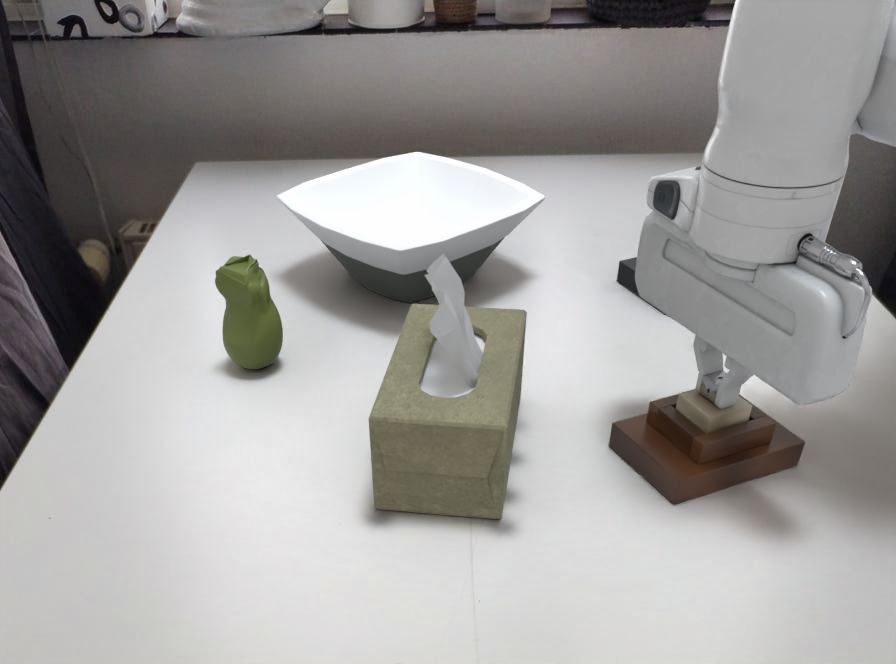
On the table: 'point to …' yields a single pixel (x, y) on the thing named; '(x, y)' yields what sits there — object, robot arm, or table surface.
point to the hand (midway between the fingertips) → (715, 398)
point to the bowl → (410, 218)
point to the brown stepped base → (701, 450)
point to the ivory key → (711, 411)
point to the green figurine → (248, 314)
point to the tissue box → (448, 406)
